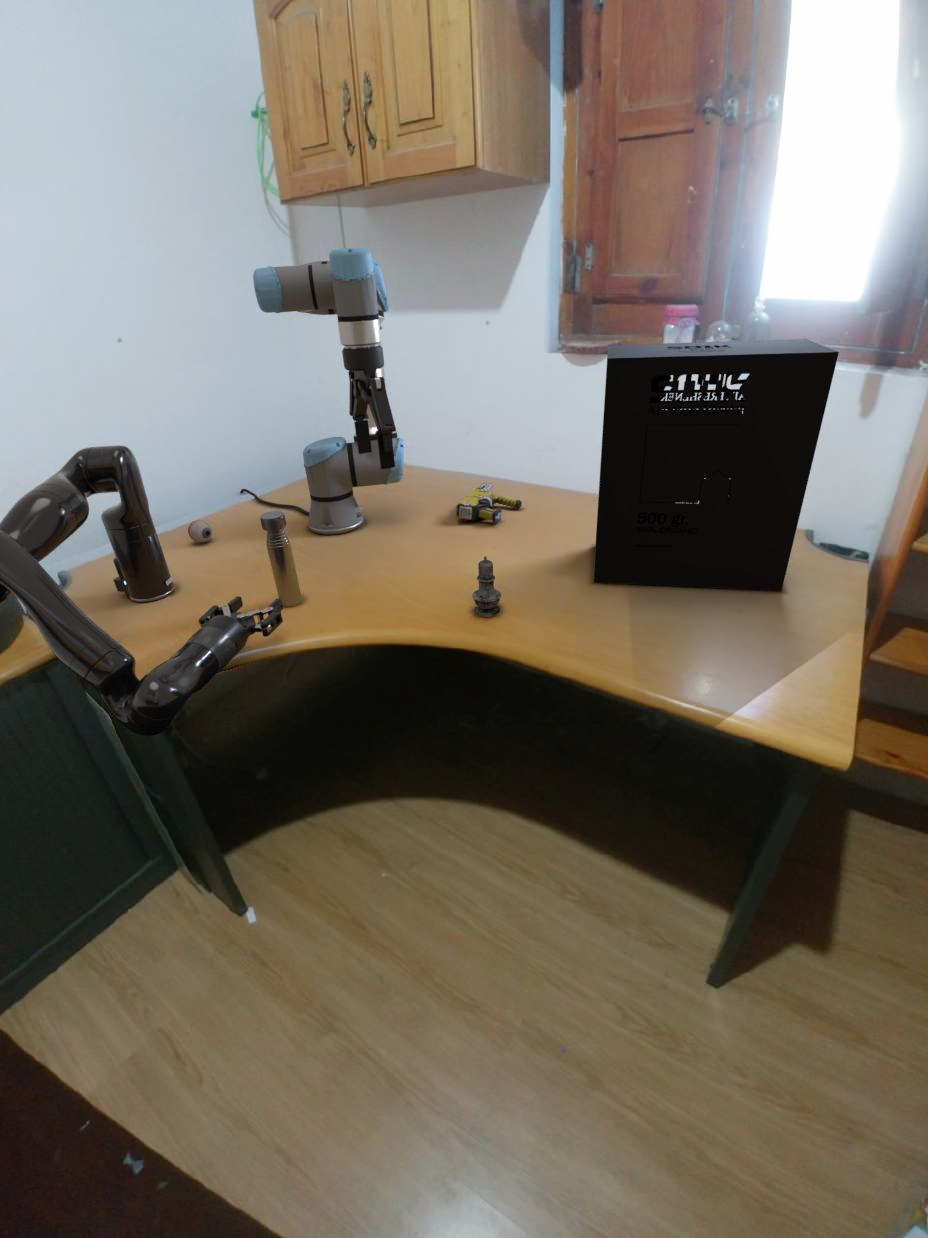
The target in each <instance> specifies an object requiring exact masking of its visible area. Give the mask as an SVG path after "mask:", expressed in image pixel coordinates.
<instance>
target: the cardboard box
mask: <svg viewBox="0 0 928 1238" xmlns="http://www.w3.org/2000/svg"><path fill="white" fill-rule="evenodd" d="M839 353H840V352H839V351H837V350H835V349H832V348H830V347H828V346H825V345H823V344H819V343H817V342H815V341H812V340H810V339H808V338H795V339H791V338H790V339H789V338H787V339H765V340H764V339H761V340H759V339H758V340H732V341H730V340H729V341H728V340H727V341H698V342H697V341H696V342H669V343H639V344H638V343H636V344H635V343H634V344H632V343H631V344H609V345H607V355H606V356H607V357H606V371H605V384H604V400H603V401H604V403H603V418H602V432H601V433H602V436H601V450H600V453H601V454H600V464H599V465H600V466H599V467H600V468H599V481H598V482H599V483H598V484H599V485H598V498H597V515H596V530H595V545H594V546H595V548H594V565H593V583H594V584H614V585H615V584H616V585H618V584H619V585H637V586H639V585H641V586H658V587H659V586H663V587H681V588H682V587H684V588H703V589H705V588H707V589H727V590H728V589H729V590H747V591H767V592H768V591H769V592H771V591H772V592H782V591H783V587H784V583H785V578H786V575H787V572H788V571H787V570H788V567H789V562H790V558H791V554H792V549H793V545H794V542H795V537H796V532H797V528H798V525H799V520H800V516H801V512H802V509H803V508H802V507H803V503H804V499H805V495H806V490H807V487H808V482H809V478H810V476H811V475H810V474H811V470H812V467H813V462H814V457H815V454H816V449H817V445H818V442H819V436H820V432H821V428H822V424H823V420H824V416H825V411H826V408H827V404H828V399H829V395H830V391H831V387H832V382H833V379H834V374H835V370H836V366H837V362H838V358H839ZM742 374H743V375H747V377H746V378H744V379H739V378H740V377H741V376H742ZM693 375H695V376H696V375H697V382H696V380H695V379H693V380H692V377H693ZM707 375H709V378H708V379H707ZM682 376H685V380H684V382H683V389H679V385H680V379H679V378H680V377H682ZM730 376H731V377H730ZM729 377H730V383H729V385H730V386H735V385H740V386H739V388H729V387H728V379H729ZM706 379H707V380H706ZM696 385H699V389H695V388H696ZM713 385H714V386H715V387H714V389H709V386H713ZM667 387H670V389H666V388H667Z"/></svg>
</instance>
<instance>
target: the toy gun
mask: <svg viewBox="0 0 928 1238" xmlns="http://www.w3.org/2000/svg"><path fill="white" fill-rule="evenodd" d="M493 488H494V486H493V483H490V482H489V483H488V484H487V482H483V483H482V484H480V485H479V486H478V487H476V488H475V489H473V490H472V491H471V492H470V493H469V494H468V495H467V496H465V498H463V499H462V500H461V501H459V502H458V503H457V504H456V507H455V508H456V510H455V513H456V514H455V516H456V517H457V518H458V519H460V520H461V521H464V522H465V521H469V520H470V521H475V520H480V519H487V520H489V521H492V524H493V525H494V524H496V523H498V522H500V521H501V520H502V513H503V512H502V510H503V509H502V508H500V507H498V508H495V507H494V505H496V504H498V505H502V506H506V507H511V508H515V509H517V510H518V509H521V507H522V505H523V503H522V500H521V499H515V498H511V497H507V496H503V495H499V496H498V497H496V496H495V495H496V494H494V493H493V491H491V490H494V489H493Z"/></svg>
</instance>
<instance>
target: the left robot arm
mask: <svg viewBox="0 0 928 1238" xmlns="http://www.w3.org/2000/svg"><path fill="white" fill-rule="evenodd" d="M138 463H139V462H138V460H137V458H136V456H135V454H134V453H133V451H132V450H131V449H130V448H129V447H128V446H126V445H122V444H121V445H119V444H114V445H100V446H89V447H84V448H81V449H79V450H77V451H76V452H75V453H74V454H73V455H72V456H71V457H70V458H69V459H68V460H67V462H66V463H65V464H64V465H63V466H62V467H61V468H60V469H59V470H58V471H56V472H54V474H52V475H51V476H49V477H48V478H47V479H45V480H44V481H43V482H42V483H40V484H38V485H36V486H35V487H33V488H32V489H31V490H29V491H28V492H26V493H25V494H24V495H22V496H21V497H20V498H19V499H18V500H17V501H16V502H15V503H14V504H13V506H12V507H11V508H10V510H8V512H7V513H6V514H5V516H4V517H3V518H2V520H1V521H0V605H1V604H3V603H4V602H6V601H7V600H8V599H9V598H10V597H11V596H12V594H13V595H14V596H15V597H16V598H17V599H18V600H19V602H20V603H21V604H22V606H23V607H24V608H25V610H26V611H27V612H28V614H29V615H30V617H31V618H32V620H33V621H34V624H35V625H36V627H37V628H38V630H39V632H40V634H41V635H42V637H43V640H44V641H45V643H46V645H47V647H49V649H50V651H51V652H52V653H53V655H54V656H55V657H56V658H57V659H58V660H59V661H60V662H61V663H62V665H64V666H65V667H67V668H68V669H69V670H70V671H71V672H72V673H73V674H75V675H76V676H77V677H79V679H81V680H83V682H85V683H86V684H87V685H89V686H90V687H92V688H93V690H94V691H95V692H96V693H97V695H98V696H99V697H100V699H101V701H102V702H103V703H104V705H105V706H106V707H107V709H108V710H109V711H110V713H111V714H112V715H113V716H114V717H115V719H116V720H117V722H119V723H120V724H121V725H122V726H123V727H125V728H126V729H127V730H129V731H130V732H132V733H134V734H137V735H140V736H145V737H153V736H158V735H160V734H162V733H163V732H164V731H166V730H167V729H168V728H169V726H170V725H171V724H172V722H173V721H174V719H175V717H176V716H177V714H178V713H179V711H180V710H181V708H182V707H183V706H184V705H185V704H186V702H187V701H188V700H189V699H190V698H191V696H192V695H193V694H195V693H197V692H199V691H200V690H202V689H203V688H204V687H205V686H206V685H207V684H208V683H209V682H210V681H211V680H212V679H213V678H214V677H215V676H216V675H217V674H218V673H219V672H220V671H222V670H223V669H224V668H226V667H227V665H228V664H230V662H231V661H232V660H233V659H234V658H235V657H236V656H237V655H238V654H239V653H240V652H241V651H242V650H243V649H244V648H245V647H246V644H247V642H248V639H249V637H250V636H252V635H254V634H255V633H261V634H262V636H263V637H266V638H267V637H269V636H270V635H271V634H272V633H273V632H274V631H275V630H276V629H278V627H280V626H281V624H282V623H284V619H283V615H282V611H283V609H284V606H283V605H282V601H281V599H279V598H275V599H274V600H273V602H271V603H270V604H269V605H268V607H266V608H263V609H260V608H256V609H254V610H252V611H249V612H240V611H239V610H240V609H241V608H242V607H243V606H244V603H243V599H242V596H238V595H236V596H235V597H234V598H233V599H230V600H229V602H227V603H225V604H222V605H221V606H219V605H217V604H216V605H212V606H211V607H210V608H209V609H208V610H207V611H206V612H204V614H202V615H201V617H199V618H198V623H199V626H200V628H199V629H198V630H196V631H195V632H194V633H193V634H192V635H191V636H190V637H189V638H188V639H187V641H186V642H185V643H184V644H183V645H182V646H181V647H179V649H178V650H176V652H174V653H173V654H172V656H171V657H169V659H166V660H165V661H163V662H161V663H160V664H158V665H156V666H155V667H153V668H151V670H149V671H148V672H147V673H146V674H144V676H143V677H141V679H139V678H138V677H137V674H136V665H137V664H136V663H137V662H136V659H135V657H134V655H133V654H132V653H131V652H130V651H129V650H127V648H125V647H124V646H123V645H122V644H121V643H119V641H117V640H116V639H114V638H113V637H112V636H110V634H108V633H107V632H106V631H105V630H104V629H102V628H101V627H100V626H99V625H98V624H96V623H95V622H94V621H93V620H92V619H91V618H90V617H89V616H87V614H85V613H84V612H83V611H82V610H81V609H80V607H79V606H78V605H77V604H76V603H75V602H74V601H73V600H72V599H71V598H70V597H69V595H68V594H67V593H66V592H65V591H64V590H63V589H62V588H61V586H60V585H59V584H58V583H57V581H56V580H54V578H53V577H52V576H51V575H50V574H49V573H48V572H47V571H46V570H45V568H44V567H43V566H42V565H41V564H40V562H41V561H42V560H44V559H45V558H46V557H48V556H49V555H50V554H51V553H52V552H54V551H55V550H56V549H58V547H60V546H61V545H62V544H63V543H64V542H66V541H67V539H69V538H70V537H71V536H73V534H75V533H76V532H77V531H78V530H79V529H80V528H81V527H82V526H83V525H84V523H86V521H87V519H88V517H89V514H90V503H89V502H88V498H89V497H91V496H94V495H97V494H108V493H111V494H112V493H118V495H119V498H120V499H119V500H120V501H119V503H117V504H114V505H112V506H110V507H108V508H106V509H105V510H103V511H102V513H101V515H100V518H101V522H102V525H103V527H104V529H105V532H106V535H107V538H108V540H109V543H110V546H111V548H112V551H113V554H114V556H115V558H113V560H112V561H113V563H114V567H115V570H116V572H117V575H118V576H117V577H116V578H114V579H113V584H114V586H115V588H116V590H117V592H118V593H125V596H126V598H127V599H130V600H131V601H132V602H136V603H149V602H154V601H158V600H161V599H163V598H165V597H168V596H170V595H171V594H172V593H173V592H174V591H175V590H176V586H175V584H174V582H173V581H174V578H173V576H172V575H171V572H170V569H169V566H168V564H167V560H166V558H165V555H164V551H163V548H162V545H161V542H160V539H159V536H158V533H157V529H156V526H155V523H154V521H153V518H152V514H151V512H150V506H149V505H150V504H149V499H148V496H147V492H146V488H145V484H144V481H143V478H142V477H143V476H142V474H141V469H140V467H139V464H138ZM265 615H267V617H264V616H265ZM255 617H257V621H258V622H256V620H255Z"/></svg>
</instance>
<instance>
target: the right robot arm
mask: <svg viewBox="0 0 928 1238" xmlns="http://www.w3.org/2000/svg"><path fill="white" fill-rule="evenodd" d="M328 256H329V257H328V258H329V260H319V261H317V260H316V261H312V262H307V263H303V264H299V265H284V266H282V265H281V266H266V267H259V268H255V270H254V271H253V274H252V280H253V288H254V294H255V297H256V301H257V304H258V308H259V309H260V310H261V312H263V313H271V314H272V313H274V314H280V313H290V312H298V313H305V314H311V315H318V316H319V315H320V316H328V315H329V316H332V315H336V317H337V327H338V336H339V341H340V342H339V343H340V345H341V346H343V347H344V348H342V350H341V355H342V361H343V367H344V369H345V370H346V371H348V381H349V411H348V413H349V415H350V417H352V420H353V421H354V422H353V423H354V430H355V432H354V433H353V442H347V440H346V438H345V437H343V436H331V437H327V438H322V439H318V440H316V441H314V442H310V443H309V444H308V445H306V446H305V447H304V448H303V450H302V457H303V459H302V460H303V468H304V469H305V470H304V471H305V476H306V481H307V486H308V492H309V498H310V507H309V511H308V510H306V509H304V508H302V507H300V506H298V505H294V504H284V503H277V502H272V501H268V500H264V499H262V498H259V497H258V495H257V494H256V493H254V492H253V491H251V490H249V489H247V488H241V490H240V492H239V494H244V493H247V494H249V495H250V496H253V498H254V499H255V500H256V501H257V502H259V503H261V504H264V505H268V506H272V507H277V508H287V509H294V510H298V511H300V512H301V513H302V514H304V515H306V516H308V528H309V529H308V530H310V531H311V532H312V533H314V534H317V535H323V536H324V535H325V536H327V535H329V536H331V535H339V534H340V535H341V534H345V533H350V532H353V531H355V530H357V529H359V528H361V527H362V526H363V525H364V523H365V519H364V514H363V505H362V504H361V505H359V504H358V501H357V500H356V498H355V495H354V489H353V488H359V487H371V486H380V485H385V486H387V485H389V484H398V483H400V482H401V481H402V479H403V476H404V463H405V460H404V459H405V455H404V453H405V449H404V448H405V447H404V446H405V445H404V438H401V437H399V436H398V431H397V428H396V423H395V420H394V416H393V412H392V409H391V405H390V401H389V397H388V392H387V383H386V374H385V357H384V348H383V346H382V333H381V330H382V329H383V325H382V323H383V322H384V320H385V313H387V312H389V309H390V305H389V300H388V294H387V289H386V285H385V280H384V277H383V276H384V275H383V273H382V269H381V266H380V263H378V260H375V259H374V258H373V253H372V251H371V249H370V248H368V247H350V248H349V247H347V248H335V249H331V250H330V252H329V255H328Z"/></svg>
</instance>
